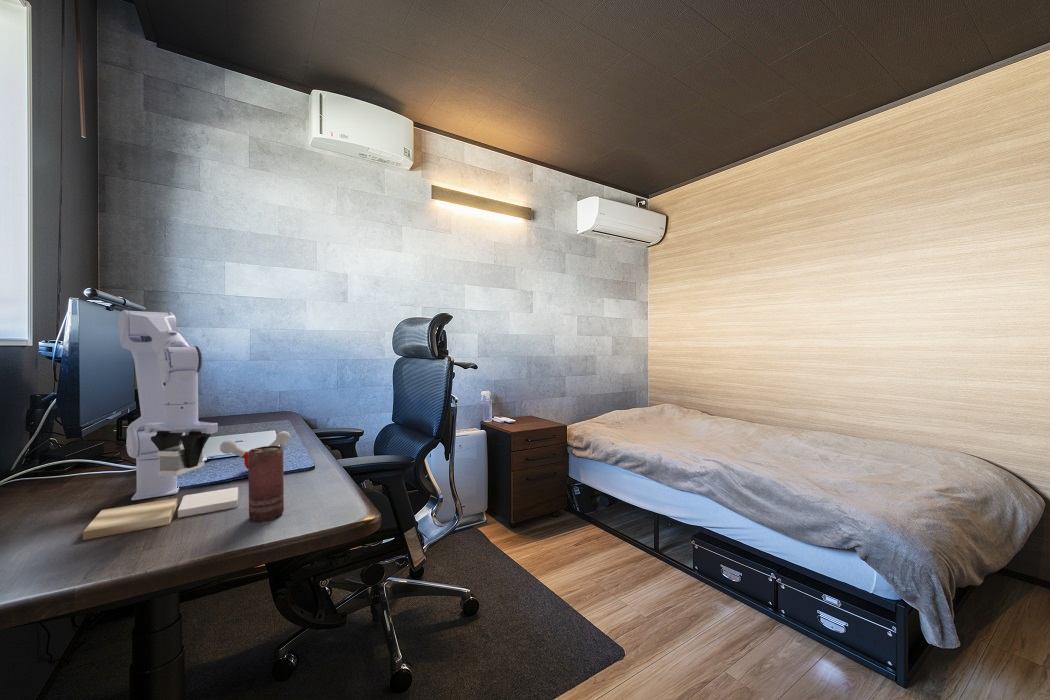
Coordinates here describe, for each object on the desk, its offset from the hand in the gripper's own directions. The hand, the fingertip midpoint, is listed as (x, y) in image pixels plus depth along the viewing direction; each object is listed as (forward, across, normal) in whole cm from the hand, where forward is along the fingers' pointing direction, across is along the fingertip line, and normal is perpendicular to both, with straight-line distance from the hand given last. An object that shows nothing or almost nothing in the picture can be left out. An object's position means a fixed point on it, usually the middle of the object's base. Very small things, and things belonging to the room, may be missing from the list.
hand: (181, 466), depth 89 cm
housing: (+1, 0, 0) cm, 1 cm away
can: (+10, +20, -2) cm, 22 cm away
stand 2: (+9, +3, +3) cm, 11 cm away
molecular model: (+10, -4, +28) cm, 30 cm away
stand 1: (+9, -5, -5) cm, 12 cm away
